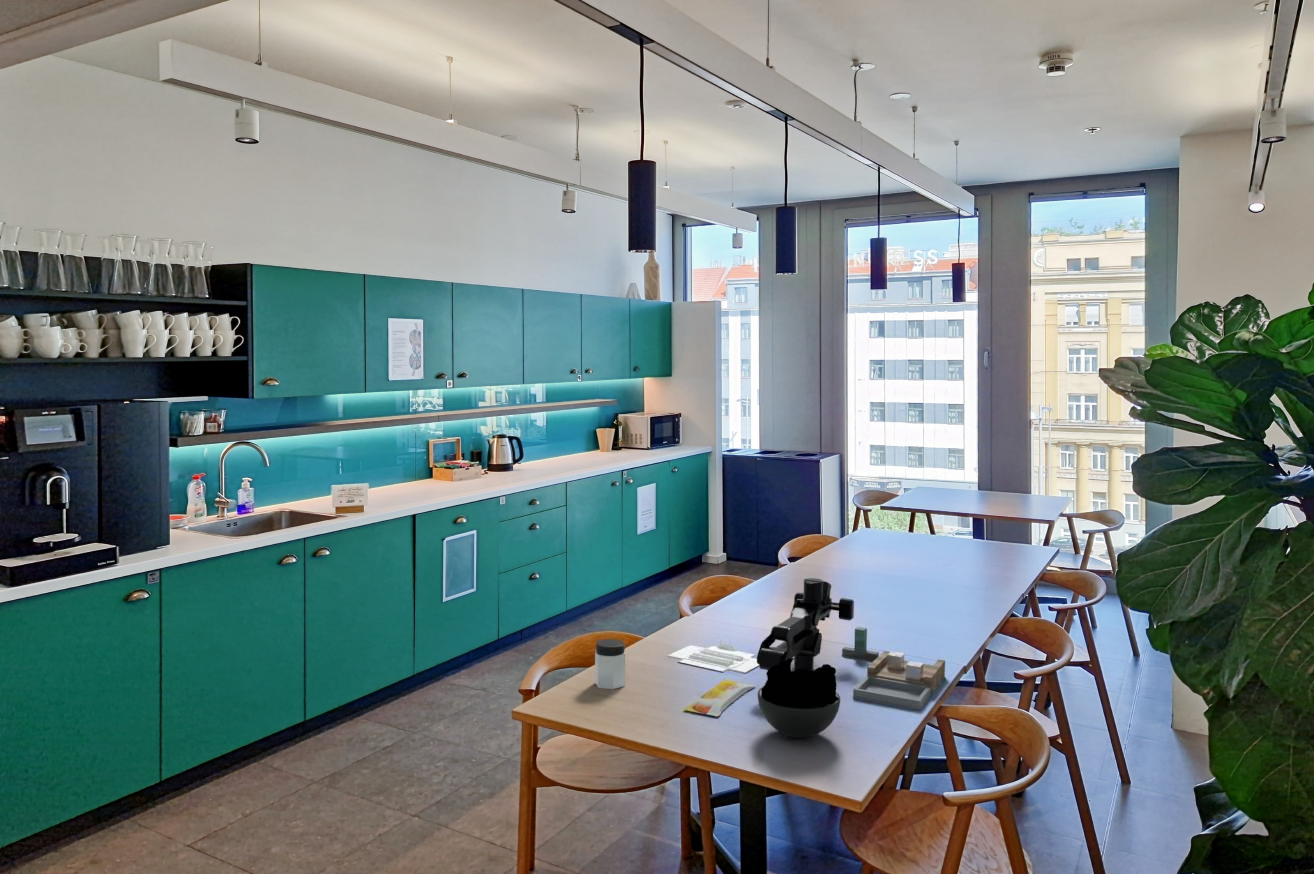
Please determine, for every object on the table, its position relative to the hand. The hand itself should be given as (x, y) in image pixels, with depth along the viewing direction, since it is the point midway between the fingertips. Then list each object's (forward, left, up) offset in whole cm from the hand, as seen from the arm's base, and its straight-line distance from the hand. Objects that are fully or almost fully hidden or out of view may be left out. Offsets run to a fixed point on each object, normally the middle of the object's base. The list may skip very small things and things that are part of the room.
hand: (832, 600), depth 287 cm
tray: (-26, +28, -17) cm, 42 cm away
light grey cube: (-21, -31, -14) cm, 40 cm away
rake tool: (-1, -10, -17) cm, 20 cm away
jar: (-63, +44, -17) cm, 79 cm away
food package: (-57, +12, -17) cm, 61 cm away
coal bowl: (-70, -15, -17) cm, 74 cm away
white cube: (-15, -24, -14) cm, 32 cm away
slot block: (-16, -28, -16) cm, 36 cm away
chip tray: (-32, -28, -16) cm, 45 cm away
